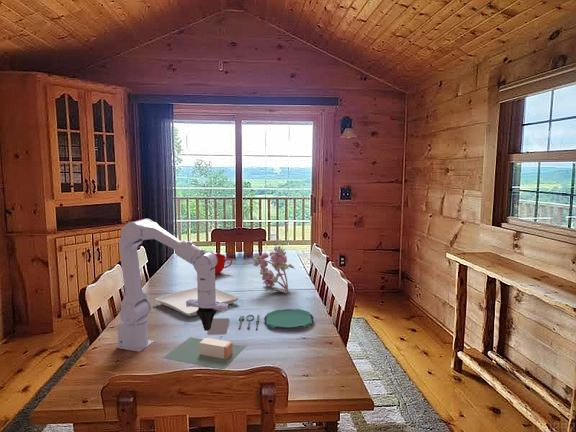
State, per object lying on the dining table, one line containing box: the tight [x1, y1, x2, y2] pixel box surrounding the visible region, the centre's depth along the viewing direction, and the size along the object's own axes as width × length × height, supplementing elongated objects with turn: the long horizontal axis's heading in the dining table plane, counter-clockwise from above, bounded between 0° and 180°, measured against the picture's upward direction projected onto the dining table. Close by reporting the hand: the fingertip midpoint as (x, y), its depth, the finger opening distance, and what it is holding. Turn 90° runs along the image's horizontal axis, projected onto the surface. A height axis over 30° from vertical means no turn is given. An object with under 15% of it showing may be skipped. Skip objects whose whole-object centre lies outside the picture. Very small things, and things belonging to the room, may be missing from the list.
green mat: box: [162, 337, 246, 370], centre depth 131 cm, size 22×16×1 cm
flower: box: [249, 245, 296, 295], centre depth 196 cm, size 20×22×25 cm
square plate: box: [154, 287, 240, 317], centre depth 176 cm, size 27×27×4 cm
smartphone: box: [206, 317, 231, 336], centre depth 152 cm, size 7×1×15 cm
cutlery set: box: [237, 308, 315, 331], centre depth 157 cm, size 20×30×2 cm, turn 92°
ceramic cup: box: [214, 253, 233, 275], centre depth 225 cm, size 13×17×10 cm
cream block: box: [199, 337, 233, 359], centre depth 130 cm, size 4×4×10 cm
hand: (207, 329), depth 130 cm, fingers closed
